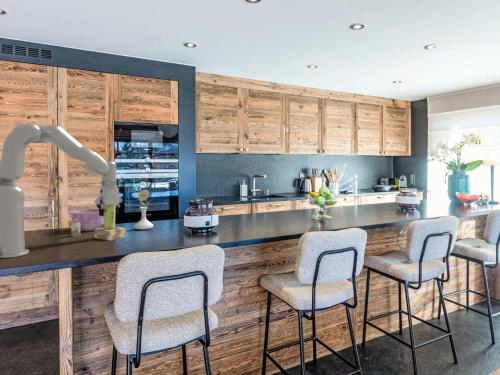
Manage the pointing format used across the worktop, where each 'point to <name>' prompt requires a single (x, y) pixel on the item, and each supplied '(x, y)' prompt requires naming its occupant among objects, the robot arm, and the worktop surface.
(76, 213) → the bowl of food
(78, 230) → the short dowel
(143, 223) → the flower in vase
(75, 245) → the worktop surface
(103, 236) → the collar block
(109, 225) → the tube
